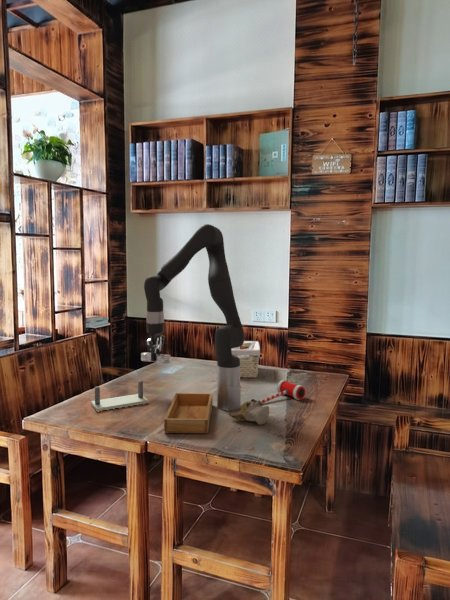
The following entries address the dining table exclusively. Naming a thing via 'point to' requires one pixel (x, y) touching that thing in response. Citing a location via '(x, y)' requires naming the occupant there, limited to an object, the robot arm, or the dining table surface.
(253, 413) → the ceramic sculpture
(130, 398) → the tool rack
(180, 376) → the dining table surface
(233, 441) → the dining table surface
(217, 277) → the robot arm
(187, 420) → the tray
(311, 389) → the dining table surface
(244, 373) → the storage basket
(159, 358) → the grey dumbbell
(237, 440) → the dining table surface
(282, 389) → the toy hammer
